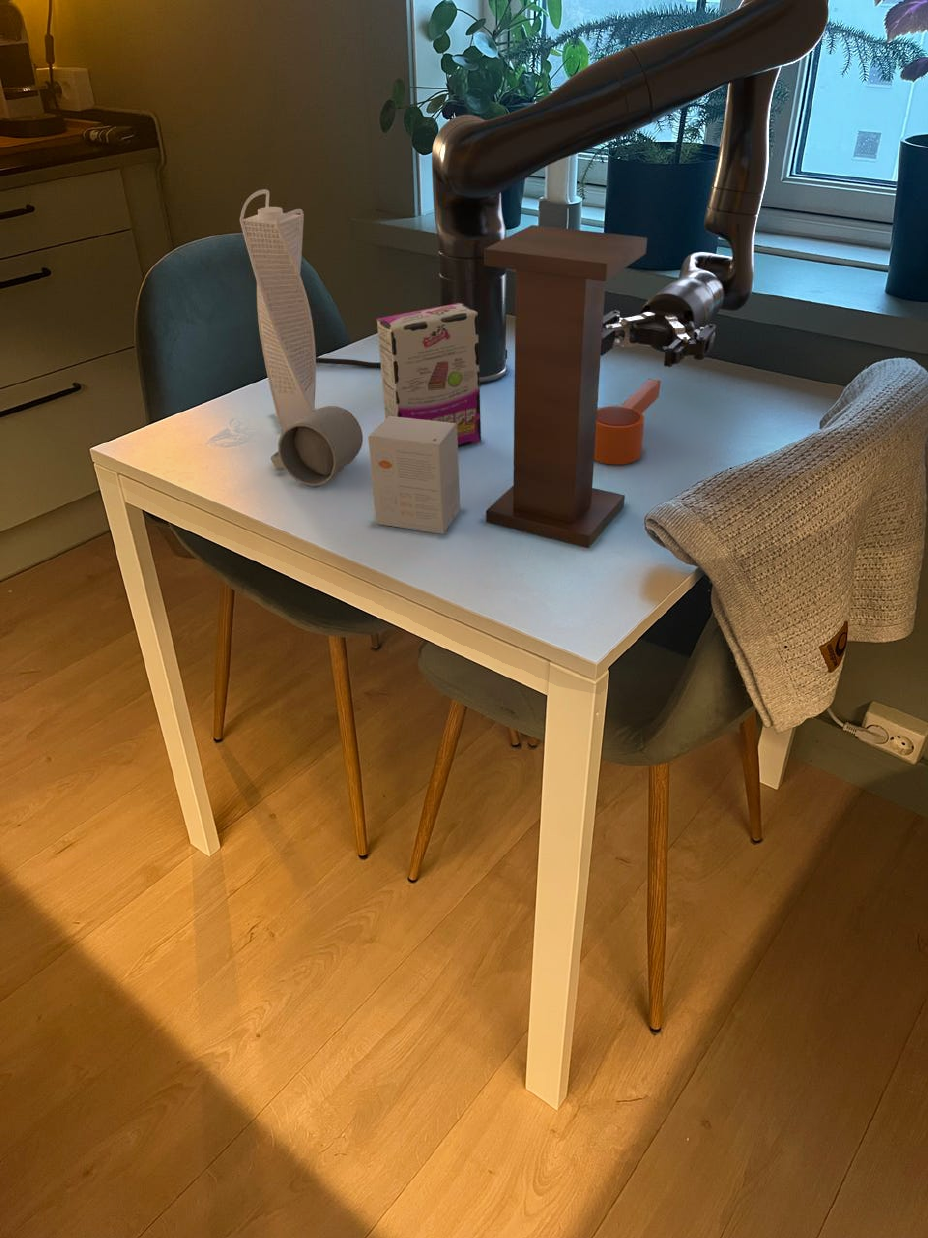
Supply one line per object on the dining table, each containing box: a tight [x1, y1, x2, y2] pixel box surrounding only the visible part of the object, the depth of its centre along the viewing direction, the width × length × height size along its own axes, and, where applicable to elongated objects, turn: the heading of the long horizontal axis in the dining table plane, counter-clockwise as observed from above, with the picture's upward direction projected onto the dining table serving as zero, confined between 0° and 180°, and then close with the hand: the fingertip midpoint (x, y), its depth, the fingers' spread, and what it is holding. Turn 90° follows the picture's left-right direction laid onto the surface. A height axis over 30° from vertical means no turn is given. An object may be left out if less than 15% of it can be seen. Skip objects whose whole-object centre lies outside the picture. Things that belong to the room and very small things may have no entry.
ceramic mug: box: [270, 405, 364, 487], centre depth 113 cm, size 11×8×8 cm
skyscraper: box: [239, 188, 317, 433], centre depth 119 cm, size 8×7×28 cm
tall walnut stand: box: [484, 224, 648, 549], centre depth 97 cm, size 10×12×28 cm
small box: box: [367, 416, 462, 535], centre depth 102 cm, size 8×6×10 cm
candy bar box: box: [376, 303, 482, 448], centre depth 115 cm, size 11×5×16 cm, turn 117°
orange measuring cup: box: [594, 378, 661, 466], centre depth 119 cm, size 16×6×5 cm, turn 151°
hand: (633, 352), depth 113 cm, fingers open, 8 cm apart
